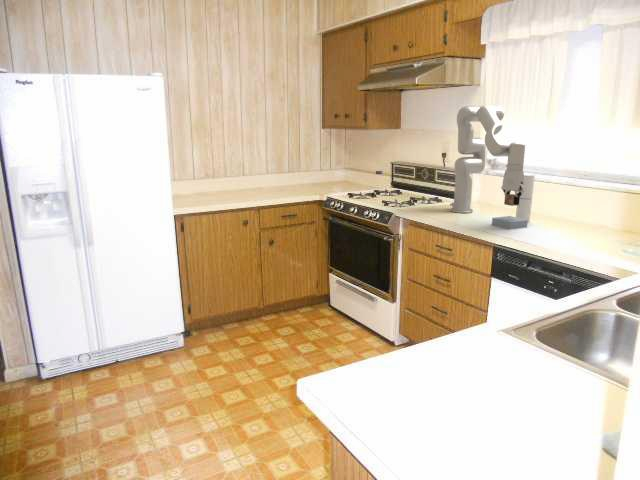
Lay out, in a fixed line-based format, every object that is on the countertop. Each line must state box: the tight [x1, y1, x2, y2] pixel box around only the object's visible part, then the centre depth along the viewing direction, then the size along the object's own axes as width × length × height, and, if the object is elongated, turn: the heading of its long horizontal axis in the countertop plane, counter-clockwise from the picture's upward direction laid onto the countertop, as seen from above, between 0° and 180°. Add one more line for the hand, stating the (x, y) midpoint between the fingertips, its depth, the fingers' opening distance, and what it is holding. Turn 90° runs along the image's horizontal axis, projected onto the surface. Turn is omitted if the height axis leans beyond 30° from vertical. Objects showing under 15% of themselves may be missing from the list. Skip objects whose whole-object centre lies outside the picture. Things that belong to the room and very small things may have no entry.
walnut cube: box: [503, 193, 520, 207], centre depth 252 cm, size 5×5×5 cm
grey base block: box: [491, 215, 529, 230], centre depth 255 cm, size 12×12×4 cm
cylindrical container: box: [515, 173, 536, 223], centre depth 263 cm, size 7×7×25 cm
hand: (511, 203), depth 252 cm, fingers closed on walnut cube, 5 cm apart
